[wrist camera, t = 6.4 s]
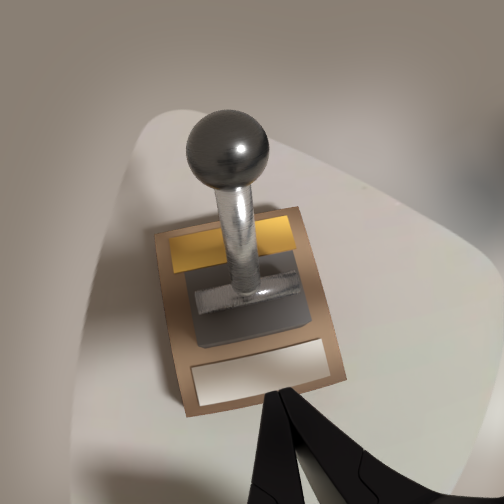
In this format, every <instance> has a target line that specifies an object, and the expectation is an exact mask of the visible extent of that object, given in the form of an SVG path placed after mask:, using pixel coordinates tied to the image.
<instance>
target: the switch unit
mask: <svg viewBox="0 0 504 504" xmlns="http://www.w3.org/2000/svg"><path fill="white" fill-rule="evenodd" d="M254 219H255V229H256V239H257V249H258V258H259V268H260V277H265V276H270V275H274V274H279V273H284V272H288V271H293V270H295V271H296V273H297V275H298V278H299V282H300V294H296V295H292V296H287V297H283V298H278V299H274V300H270V301H265V302H261V303H256V304H251V305H247V306H242V307H237V308H233V309H228V310H223V311H218V312H213V313H208V314H203V315H199V312H198V309H197V305H196V300H195V291H197V290H202V289H207V288H212V287H217V286H222V285H227V284H231V280H230V275H229V269H228V264H227V258H226V253H225V247H224V242H223V236H222V230H221V225H220V221H216V222H211V223H206V224H201V225H196V226H191V227H186V228H182V229H177V230H172V231H167V232H163V233H158V234H154V237H155V246H156V254H157V262H158V270H159V277H160V284H161V291H162V297H163V304H164V310H165V316H166V322H167V327H168V333H169V338H170V344H171V349H172V354H173V359H174V364H175V369H176V374H177V378H178V383H179V387H180V392H181V396H182V401H183V405H184V409H185V413H186V417H193V416H199V415H205V414H211V413H217V412H223V411H228V410H233V409H238V408H243V407H248V406H253V405H257V404H262V403H263V401H264V395H265V393H267V392H271V391H274V390H277V391H278V390H279V389H282V388H286V387H292V388H293V389H294V390H295V391H296V392H298V393H299V394H301V393H305V392H309V391H312V390H316V389H319V388H322V387H326V386H329V385H332V384H335V383H338V382H342V381H345V380H347V378H346V374H345V370H344V366H343V362H342V358H341V354H340V350H339V346H338V342H337V338H336V334H335V330H334V326H333V323H332V319H331V315H330V312H329V308H328V304H327V301H326V297H325V293H324V290H323V286H322V283H321V279H320V276H319V272H318V269H317V266H316V262H315V259H314V256H313V252H312V249H311V246H310V242H309V239H308V236H307V233H306V229H305V226H304V223H303V220H302V217H301V214H300V210H299V207H298V206H297V207H291V208H285V209H280V210H274V211H269V212H263V213H258V214H254Z"/></svg>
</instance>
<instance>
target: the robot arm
mask: <svg viewBox="0 0 504 504" xmlns="http://www.w3.org/2000/svg"><path fill="white" fill-rule="evenodd" d="M363 450H364V449H363V448H362V447H361V446H360V445H359V444H357V443H356V442H355V441H354V440H352V439H351V438H350V437H349V436H348V435H346V434H345V433H344V432H343V431H342V430H340V429H339V428H338V427H337V426H336V425H334V424H333V423H332V422H331V421H330V420H328V419H327V418H326V417H325V416H324V415H323V414H321V413H320V412H319V411H318V410H317V409H316V408H315V407H313V406H312V405H311V404H310V403H309V402H308V401H307V400H305V399H304V398H303V397H302V396H301V395H300V394H299V393H298V392H296V391H295V390H294V389H293V388H292V387H286V388H282V389H279V390H278V391H277V390H274V391H271V392H267V393H265V395H264V401H263V408H262V415H261V422H260V429H259V436H258V442H257V449H256V456H255V462H254V468H253V474H252V481H251V483H252V484H251V486H250V492H249V497H248V502H247V504H305V501H304V496H303V490H302V485H301V479H300V474H299V468H298V463H297V459H298V461H299V463H300V465H301V467H302V469H303V471H304V473H305V475H306V477H307V479H308V481H309V483H310V485H311V487H312V489H313V491H314V493H315V495H316V497H317V499H318V501H319V503H320V504H504V496H503V497H499V498H483V497H467V496H466V497H465V496H455V495H447V494H442V493H438V492H435V491H433V490H430V489H428V488H426V487H424V486H422V485H420V484H418V483H416V482H415V481H413V480H411V479H409V478H407V477H405V476H403V475H402V474H400V473H398V472H396V471H395V470H393V469H391V468H390V467H388V466H386V465H385V464H383V463H382V462H381V461H379V460H378V459H377V458H375V457H374V456H373V455H371V454H370V453H369V452H367V451H366V450H364V451H363Z"/></svg>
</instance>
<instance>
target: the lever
mask: <svg viewBox="0 0 504 504" xmlns="http://www.w3.org/2000/svg"><path fill="white" fill-rule="evenodd" d="M186 156H187V161H188V165H189V167H190V169H191V171H192V172H193V174H194V175H195V176H196V178H197V179H198V180H199V181H201V182H202V183H203V184H205V185H206V186H208V187H210V188H213V189H214V190H215V196H216V202H217V208H218V213H219V219H220V225H221V230H222V236H223V242H224V247H225V253H226V258H227V264H228V269H229V275H230V280H231V284H227V285H222V286H217V287H212V288H207V289H202V290H197V291H195V300H196V305H197V309H198V312H199V315H203V314H208V313H213V312H218V311H223V310H228V309H233V308H237V307H242V306H247V305H251V304H256V303H261V302H265V301H270V300H274V299H278V298H283V297H287V296H292V295H296V294H300V282H299V278H298V275H297V273H296V271H295V270H293V271H288V272H284V273H279V274H274V275H270V276H265V277H260V268H259V258H258V249H257V239H256V229H255V219H254V210H253V200H252V191H251V183H253V182H254V181H255V180H256V179H257V178H258V177H259V176H260V175H261V174H262V172H263V171H264V169H265V167H266V165H267V162H268V158H269V142H268V138H267V135H266V133H265V131H264V130H263V128H262V126H261V125H260V124H259V123H258V122H257V121H256V120H255V119H254V118H253V117H251V116H249V115H248V114H246V113H243V112H240V111H236V110H220V111H216V112H213V113H211V114H209V115H207V116H205V117H204V118H202V119H201V120H200V121H199V122H198V123H197V124H196V125H195V126H194V128H193V129H192V131H191V133H190V135H189V137H188V140H187V146H186Z"/></svg>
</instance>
